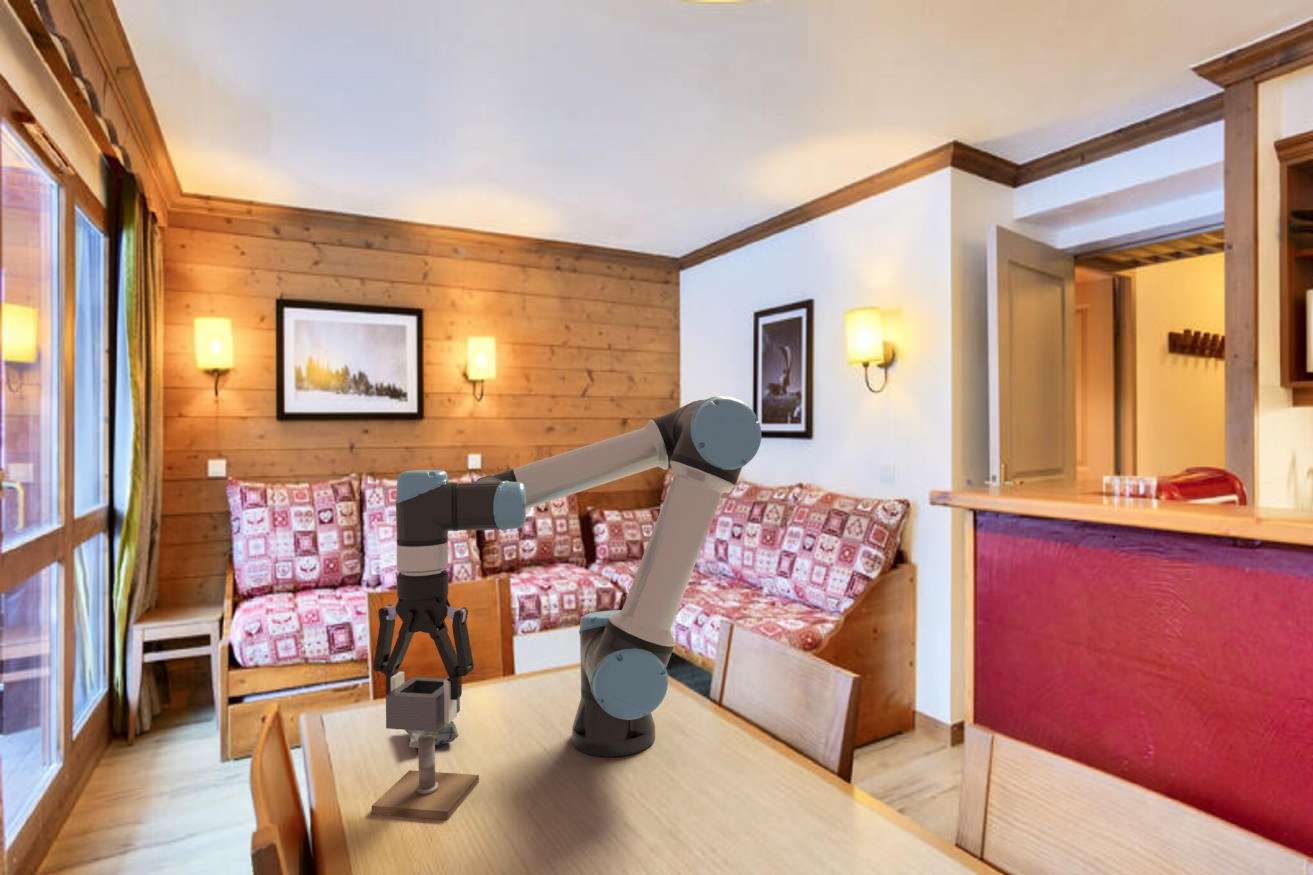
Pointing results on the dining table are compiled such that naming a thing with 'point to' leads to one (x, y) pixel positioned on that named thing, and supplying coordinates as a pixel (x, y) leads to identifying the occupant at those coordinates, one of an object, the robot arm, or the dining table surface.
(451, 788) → the stand
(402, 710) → the link
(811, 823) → the dining table surface
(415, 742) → the packaged food
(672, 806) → the dining table surface
